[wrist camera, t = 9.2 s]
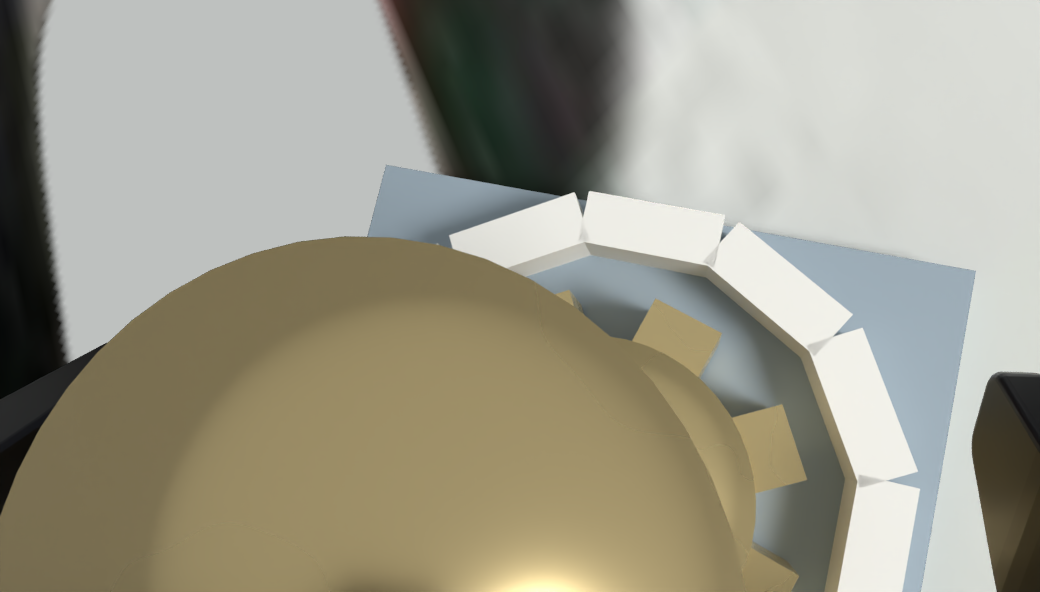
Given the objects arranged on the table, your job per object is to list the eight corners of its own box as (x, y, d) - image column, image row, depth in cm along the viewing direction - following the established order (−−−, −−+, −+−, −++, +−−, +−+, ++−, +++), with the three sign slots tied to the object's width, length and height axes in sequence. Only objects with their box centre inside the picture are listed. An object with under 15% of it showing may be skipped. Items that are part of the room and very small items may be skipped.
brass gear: (846, 637, 16) (1507, 1466, 3) (470, 724, 17) (-224, 1619, 4) (724, 263, 17) (822, -238, 4) (387, 363, 18) (-309, 184, 5)
